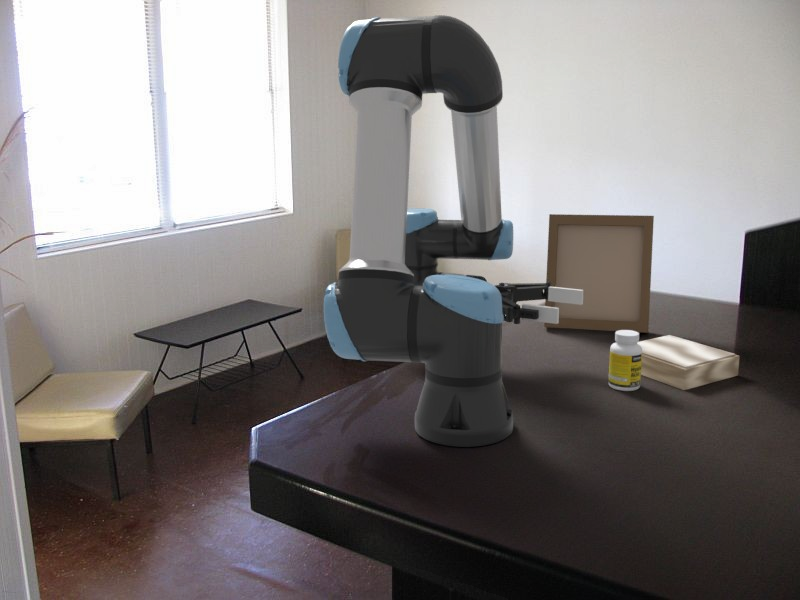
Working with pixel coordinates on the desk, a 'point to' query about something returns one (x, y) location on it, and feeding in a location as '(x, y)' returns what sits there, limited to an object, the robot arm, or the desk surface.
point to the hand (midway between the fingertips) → (571, 306)
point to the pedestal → (685, 362)
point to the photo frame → (601, 270)
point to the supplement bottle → (625, 361)
